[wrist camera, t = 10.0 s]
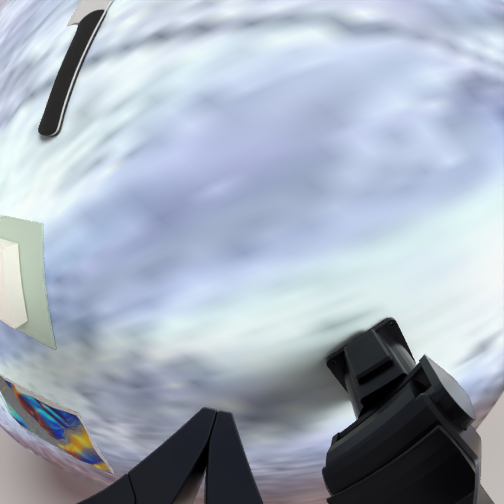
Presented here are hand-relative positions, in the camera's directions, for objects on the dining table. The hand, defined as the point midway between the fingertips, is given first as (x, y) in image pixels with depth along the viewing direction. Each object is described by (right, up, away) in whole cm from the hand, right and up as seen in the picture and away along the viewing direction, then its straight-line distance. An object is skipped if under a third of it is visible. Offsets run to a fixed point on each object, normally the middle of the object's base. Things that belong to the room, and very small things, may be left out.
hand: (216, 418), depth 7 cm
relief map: (-34, -24, +22) cm, 47 cm away
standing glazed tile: (-24, +1, +13) cm, 27 cm away
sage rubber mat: (-30, +2, +15) cm, 33 cm away
